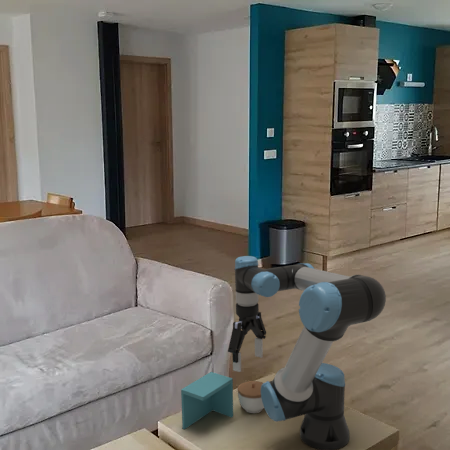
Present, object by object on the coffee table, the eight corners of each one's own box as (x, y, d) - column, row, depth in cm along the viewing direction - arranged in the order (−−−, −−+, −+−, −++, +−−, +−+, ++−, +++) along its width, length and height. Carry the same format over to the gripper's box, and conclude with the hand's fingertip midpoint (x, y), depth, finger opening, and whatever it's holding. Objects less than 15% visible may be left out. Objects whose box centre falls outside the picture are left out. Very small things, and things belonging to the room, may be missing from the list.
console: (233, 416, 199) (232, 378, 196) (204, 437, 187) (203, 397, 184) (212, 408, 204) (211, 371, 202) (182, 428, 192) (181, 389, 189)
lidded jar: (267, 418, 198) (266, 392, 196) (235, 415, 200) (234, 389, 198) (271, 402, 208) (271, 377, 206) (240, 400, 210) (240, 375, 208)
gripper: (257, 291, 208) (258, 348, 212) (216, 311, 188) (217, 374, 192) (275, 294, 204) (276, 353, 208) (235, 315, 184) (237, 379, 188)
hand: (248, 363), depth 200 cm, fingers open, 13 cm apart
